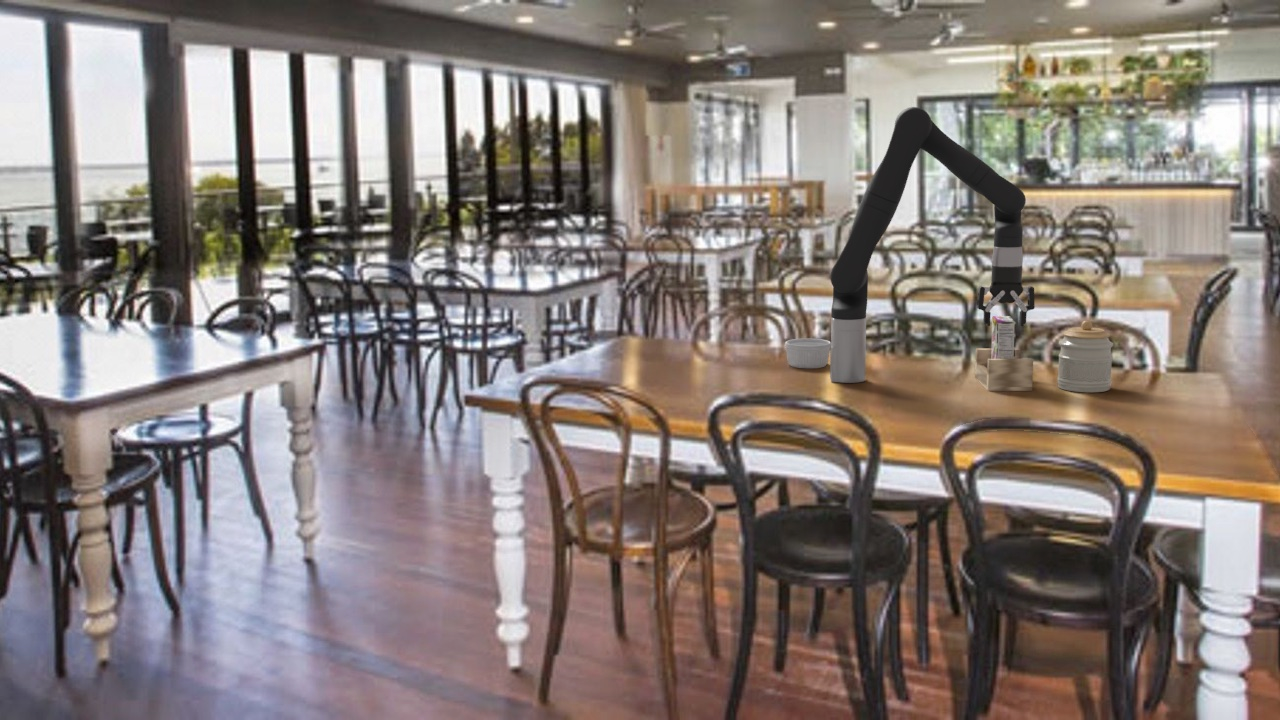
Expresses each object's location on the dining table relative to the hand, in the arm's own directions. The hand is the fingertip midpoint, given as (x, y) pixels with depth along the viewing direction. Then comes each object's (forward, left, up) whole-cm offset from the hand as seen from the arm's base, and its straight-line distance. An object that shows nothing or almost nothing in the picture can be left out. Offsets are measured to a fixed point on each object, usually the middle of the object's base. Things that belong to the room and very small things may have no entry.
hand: (1004, 325), depth 300 cm
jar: (+19, -6, -16) cm, 25 cm away
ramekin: (-50, +28, -16) cm, 59 cm away
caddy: (0, 0, -16) cm, 16 cm away
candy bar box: (0, 0, -15) cm, 15 cm away
